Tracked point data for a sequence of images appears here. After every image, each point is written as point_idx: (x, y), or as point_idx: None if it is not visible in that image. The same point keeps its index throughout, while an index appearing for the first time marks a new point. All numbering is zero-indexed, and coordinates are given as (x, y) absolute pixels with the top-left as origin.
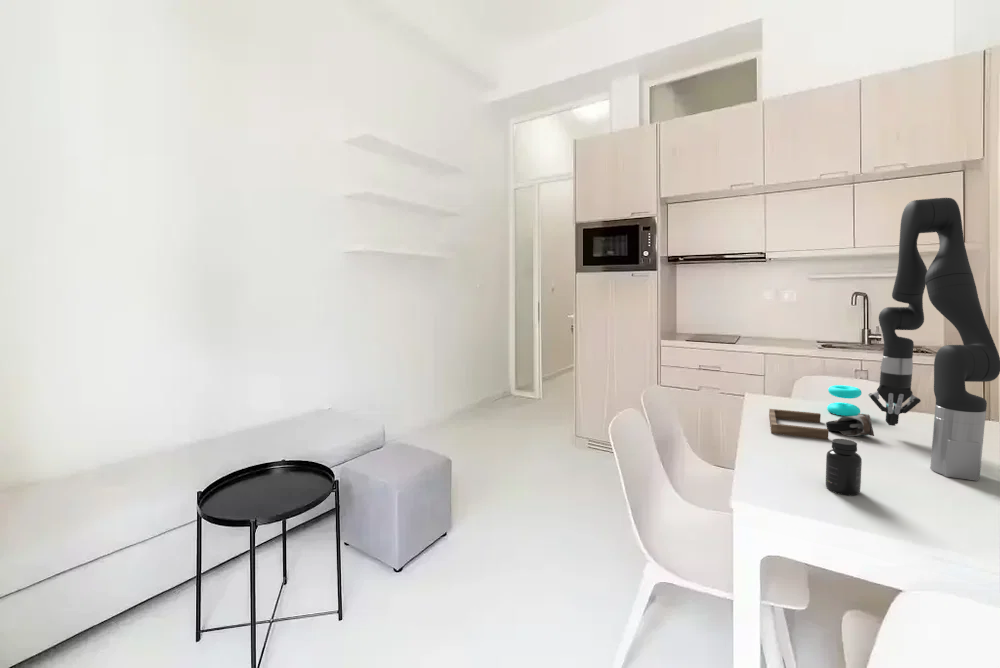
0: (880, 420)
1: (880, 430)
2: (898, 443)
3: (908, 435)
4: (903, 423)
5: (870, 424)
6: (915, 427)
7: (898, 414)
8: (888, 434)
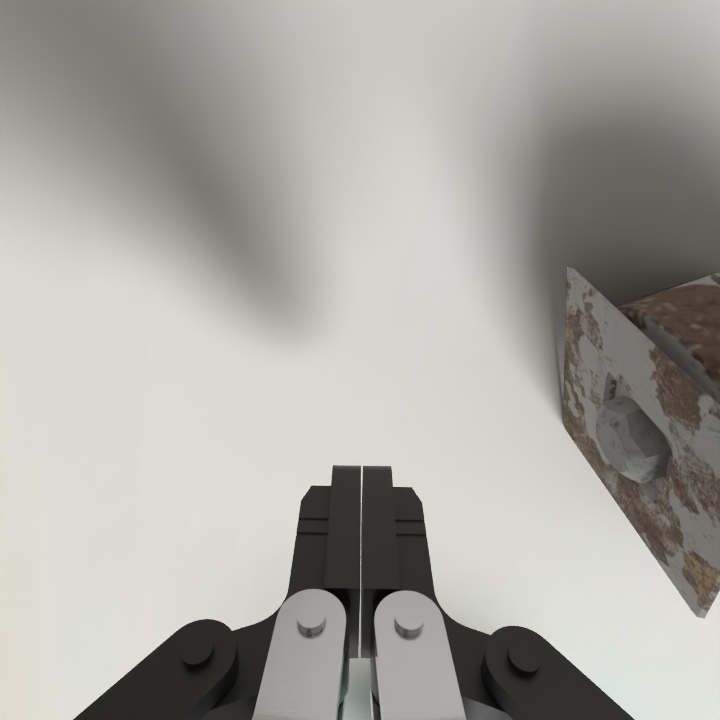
0: None
1: None
2: (342, 213)
3: (212, 493)
4: None
5: (658, 363)
6: None
7: (290, 603)
8: None
